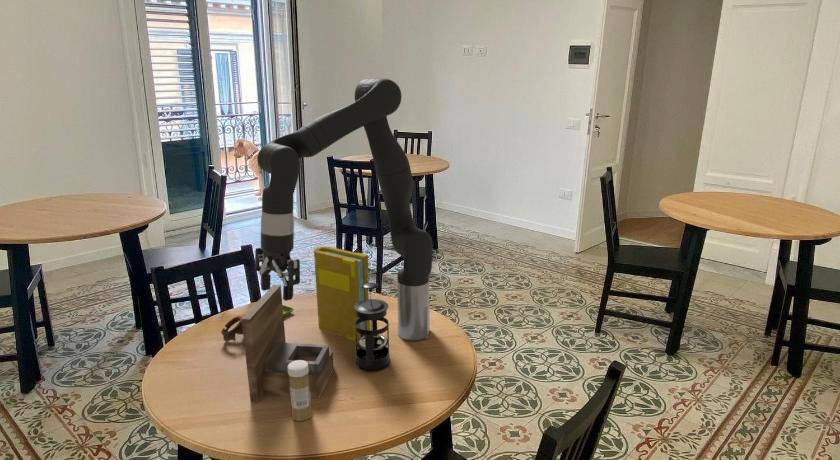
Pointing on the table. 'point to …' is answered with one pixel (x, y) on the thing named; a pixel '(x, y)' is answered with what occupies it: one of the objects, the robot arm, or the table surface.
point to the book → (340, 289)
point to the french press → (372, 333)
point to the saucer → (287, 310)
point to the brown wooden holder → (278, 351)
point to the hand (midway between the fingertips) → (276, 294)
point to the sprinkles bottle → (299, 390)
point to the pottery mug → (236, 330)
